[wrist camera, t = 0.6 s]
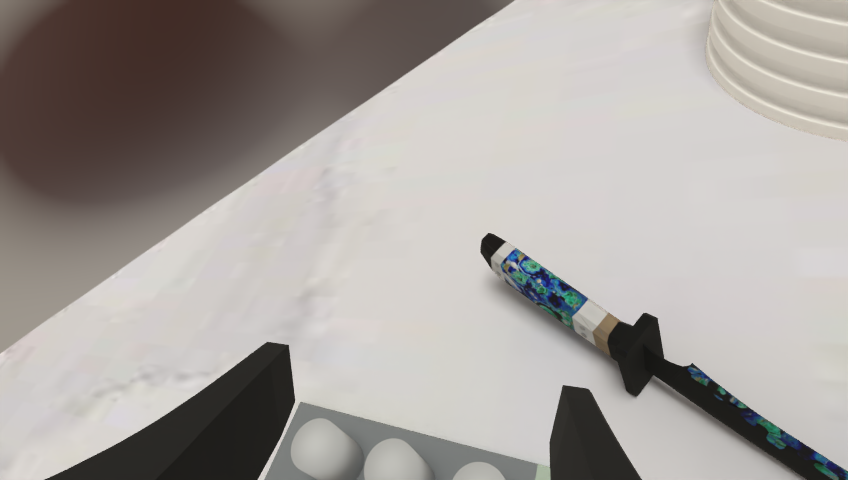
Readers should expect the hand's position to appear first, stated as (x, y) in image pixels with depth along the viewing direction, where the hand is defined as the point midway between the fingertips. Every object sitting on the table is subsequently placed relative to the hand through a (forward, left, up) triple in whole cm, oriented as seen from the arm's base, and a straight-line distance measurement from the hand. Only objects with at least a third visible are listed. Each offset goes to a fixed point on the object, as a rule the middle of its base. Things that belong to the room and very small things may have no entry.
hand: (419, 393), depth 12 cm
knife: (+8, -9, -19) cm, 22 cm away
